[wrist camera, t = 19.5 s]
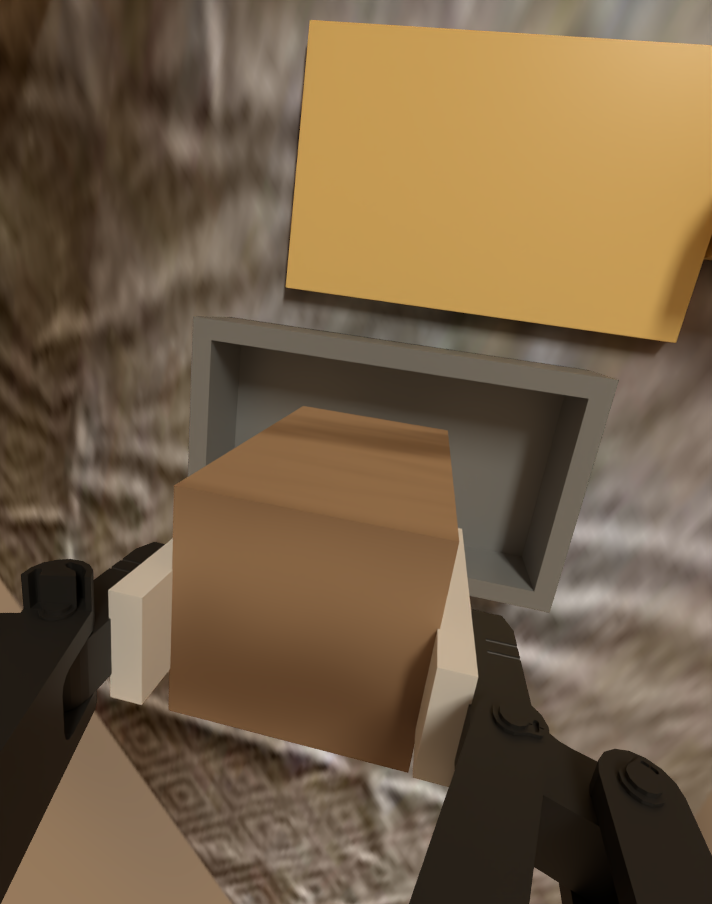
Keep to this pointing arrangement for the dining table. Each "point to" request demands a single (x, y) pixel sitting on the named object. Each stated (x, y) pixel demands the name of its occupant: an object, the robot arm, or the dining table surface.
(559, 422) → the tub
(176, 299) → the dining table surface
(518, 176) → the lid
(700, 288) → the dining table surface
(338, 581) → the walnut block
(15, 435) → the dining table surface
